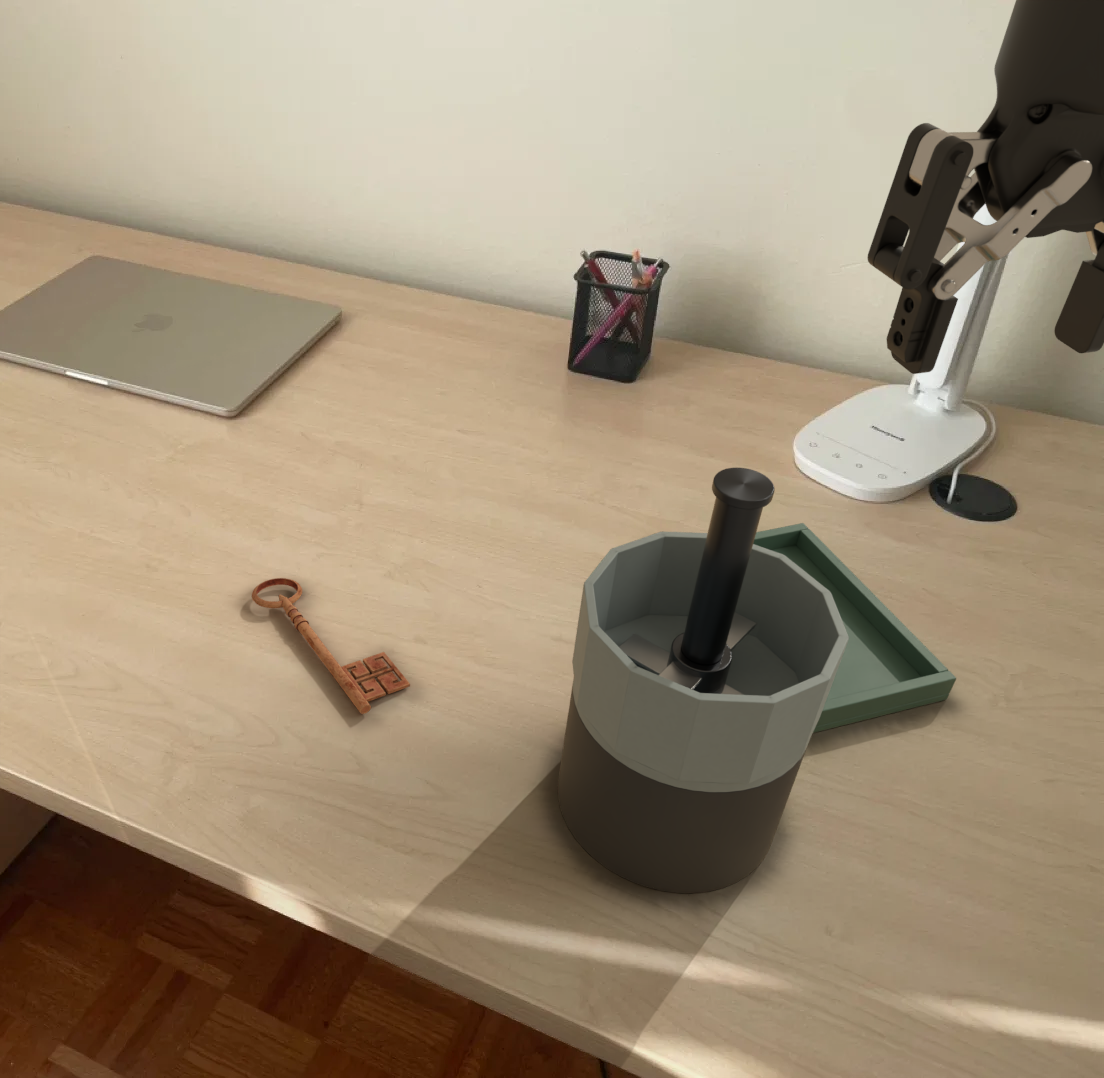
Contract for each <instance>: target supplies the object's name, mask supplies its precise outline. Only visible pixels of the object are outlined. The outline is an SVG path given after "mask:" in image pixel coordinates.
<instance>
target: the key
mask: <svg viewBox="0 0 1104 1078" xmlns="http://www.w3.org/2000/svg"><path fill="white" fill-rule="evenodd" d="M272 586H273V587H274V586H287V587H291V588H292V589H294V590H295V591H296V593H294V594H293V595H292V596H290V597H287V596H284V595H282V594H279V595H278V600H276V601H273V600H272V601H271V600H270V601H269V600H265V599H263V598H261V597H260V596H259V593H260V592H261V591H263V590H264V589H266V588H269V587H272ZM302 594H303V587H302V586H301V584H299V582H297V581H296V580H294V579H290V578H285V577H277V578H271V579H268V580H264V581H262V582H261V583H259V584H257V585H256V586H255V587H254V588H253V590H252V592H251V599H252V601H253V602H254V603H255V604H256V605H258V606H260V607H262V608H266V609H279V608H280V609H281V608H282V609H283V610H284V611H285V614H286V616H287V617H288V618H290V621H291V622H292V624H293V625H294V627H295V629H296V630H297V631H298V632H299V633H300V634H301V635H302V637H303V638H304V639H305V641H306V642H307V644H308V645H309V646H310V648H311V649H312V650H313V651H314V653H315V654H316V656H318V658H319V659H320V661H321V662H322V664H323V665H324V666H325V668H326V669H327V671H328V672H329V673H330V674H331V676H332V677H333V679H334V680H335V681H336V682H337V683H338V685H339V686H340V688H341V689H342V691H343V692H344V693H345V695H346V696H347V698H349V700H350V701H351V702H352V704H353V705H354V706H355V707H356V709H357V711H358V712H359V713H360V714H361V715H365V714H367V713H368V712H369V711H370V710H372V706H371V703H369V702H371V701H373V700H376V699H379V698H382V697H385V696H386V694H388V695H390V694H393V693H395V692H399V691H401V690H403V689H406V688H408V687H411V683H410V681H408V679H407V678H406V677H405V676H404V674H402V671H400V669H399V668H398V667H397V666H396V665H395V663H394V662H393V661H392V660H391V659H390V657H389V656H388V655H387V654H386V652H385V651H382V652H379V653H375V654H373V655H370V656H368V657H365V658H363V659H362V660H361V659H359V660H356V661H353V662H350V663H347V664H345V665H342V666H341V665H340V664H339V662H338V661H337V659H336V658H335V657H334V656H333V654H332V653H331V652H330V651H329V649H328V648H327V646H325V644H324V643H323V641H322V640H321V638H319V636H318V635H317V633H316V632H315V630H313V628H312V627H311V626H310V623H309V621H308V620H307V619H306V618H305V617H304V616H303V614H302V613H301V612H299V610H298V608H297V607H296V606H295V605H293V604H294V603H296V602H297V601H298V600H299V599H300V598H301V596H302ZM370 673H371V674H370ZM359 684H360V685H359Z"/></svg>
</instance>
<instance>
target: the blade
mask: <svg viewBox="0 0 1104 1078" xmlns="http://www.w3.org/2000/svg"><path fill="white" fill-rule="evenodd" d="M775 489H776V488H775V485H774V483H773V481H772V480H771V479H770V478H769V477H768V476H766V475H765V474H764V473H761V472H760V471H757V470H754V469H751V468H746V467H728V468H723V469H721V470H720V471H718V472H717V473H715V475H714V477H713V480H712V484H711V492H712V493H713V495H714V496H715V498H714V499H715V500H714V503H713V507H712V513H711V516H710V521H709V526H708V530H707V532H706V533H707V538H706V542H705V546H704V551H703V555H702V559H701V563H700V568H699V572H698V576H697V580H696V585H695V589H694V593H693V597H692V602H691V606H690V610H689V615H688V619H687V623H686V627H685V632H684V633H681V634H680V635H678V636H677V637H676V638H675V639H674V640H673V642H672V645H671V649H670V653H669V652H667V651H665V650H663V649H661V648H660V647H658V646H656V645H654V644H653V643H651V642H649V641H647V640H645V639H644V638H642V637H640V636H638V635H636V634H635V633H634V634H633V635H632V636H631V637H630V638H628V639H627V640H626V641H625V642H624V643H623V644H622V645H621V646H620V647H619V648H620V649H621V650H622V651H623V652H624V653H625V654H626V655H627V656H628V657H629V658H630V659H631V660H632V661H633V662H635V663H637V664H638V665H640V666H642V667H643V668H645V669H647V670H649V671H650V672H652V673H654V674H656V675H659V676H661V677H664V678H666V679H668V680H671V681H673V682H675V683H678V684H680V685H682V686H685V687H687V688H690V689H692V690H694V691H697V692H699V693H711V694H735V695H744V694H742V693H740V692H738V691H737V690H735V689H733V688H731V687H729V686H728V685H726V684H725V683H726V680H727V676H728V672H729V669H730V665H731V662H732V652H731V651H732V650H733V649H734V647H735V646H736V645H737V644H738V643H739V642H740V641H741V640H742V639H743V638H744V637H745V636H746V635H747V634H748V633H749V632H750V631H751V630H752V629H753V628H754V627H755V626H756V623H755V622H753V621H751V620H749V619H747V618H745V617H743V616H741V615H739V614H737V613H735V609H736V605H737V602H738V598H739V594H740V591H741V587H742V583H743V580H744V576H745V572H746V569H747V565H748V561H749V557H750V554H751V550H752V546H753V543H754V539H755V535H756V532H758V527H759V524H760V520H761V517H762V513H763V509H764V508H765V507H766V506H768V505H770V503H772V501H773V498H774V494H775Z"/></svg>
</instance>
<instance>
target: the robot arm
mask: <svg viewBox="0 0 1104 1078" xmlns="http://www.w3.org/2000/svg"><path fill="white" fill-rule="evenodd" d="M993 69H994V77H995V78H994V79H995V84H996V99H995V103H994V106H993V107H992V109H991V112H990V113H989V115H988V116H987V118H986V119H985V120H984V122H983V123H982V125H980V127H979V128H978V130H976V131H966V132H965V131H959V132H956V131H953V132H948V131H946V130H943V129H942V128H939V127H937V126H935V125H933V124H932V123H929V122H923V123H920V124H918V125H917V126H915V127H914V128H913V129H912V130H911V131H910V132H909V134H908V136H907V139H906V142H905V145H904V147H903V151H902V153H901V157H900V160H899V162H898V165H897V168H896V171H895V174H894V177H893V180H892V183H891V186H890V189H889V191H888V195H887V197H886V200H885V203H884V206H883V209H882V212H881V215H880V218H879V220H878V224H877V227H876V229H875V232H874V235H873V238H872V241H871V244H870V247H869V249H868V254H867V262H868V263H869V265H870V266H872V267H874V268H875V269H876V270H878V271H879V272H880V273H882V274H883V275H885V276H886V277H887V278H888V279H890V280H891V281H892V282H894V283H896V284H897V285H898V286H900V287H901V291H900V294H899V298H898V301H897V303H896V306H895V310H894V314H893V316H892V320H891V323H890V327H889V329H888V332H887V336H886V348H887V349H888V350H889V351H890V355H891V357H892V359H893V360H895V362H897V363H898V364H899V365H900V366H902V367H903V368H904V369H905V370H907V371H908V372H909V373H910V374H912V375H918V374H926V373H930V372H932V371H933V370H934V368H935V366H936V363H937V360H938V358H939V354H940V352H941V349H942V346H943V343H944V340H945V338H946V335H947V332H948V329H949V327H950V323H951V320H952V318H953V315H954V312H955V309H956V307H957V303H958V302H959V298H958V297H956V296H955V295H956V294H957V293H958V292H959V291H960V290H961V289H962V288H963V287H964V286H965V285H966V284H967V283H968V282H969V281H970V280H971V279H972V278H973V277H974V276H975V275H976V274H977V273H978V272H979V271H980V269H982V268H983V267H984V266H985V265H986V264H987V263H989V262H991V261H992V262H993V261H999V260H1001V259H1004V258H1005V257H1006V256H1008V254H1009V253H1010V252H1012V251H1013V250H1014V248H1016V247H1017V245H1019V244H1020V242H1021V241H1022V240H1024V239H1025V238H1026V239H1032V238H1041V237H1046V236H1049V235H1052V234H1054V233H1057V232H1061V231H1066V232H1067V231H1068V232H1072V233H1076V234H1078V233H1085V234H1086V235H1085V236H1086V238H1087V242H1088V244H1089V248H1090V251H1091V254H1093V255H1094V256H1095V258H1094V259H1086V260H1082V262H1081V264H1080V266H1079V268H1078V271H1077V273H1076V276H1075V279H1074V280H1073V283H1072V285H1071V288H1070V290H1069V292H1068V295H1067V297H1066V300H1065V302H1064V304H1063V307H1062V309H1061V312H1060V314H1059V316H1058V318H1057V321H1056V323H1055V326H1054V336H1055V338H1056V339H1057V340H1058V341H1059V342H1061V343H1062V344H1064V345H1065V346H1067V347H1068V348H1070V349H1072V350H1073V351H1075V352H1077V353H1079V354H1087V353H1096V352H1098V351H1100V350H1101V349H1102V348H1103V346H1104V0H1015V2H1014V4H1013V8H1012V11H1011V14H1010V18H1009V21H1008V24H1007V26H1006V30H1005V33H1004V37H1003V39H1002V42H1001V45H1000V48H999V51H998V55H997V57H996V61H995V64H994V68H993ZM972 171H974V173H973V174H972V175H971V173H972ZM970 175H971V176H970ZM984 206H986V210H987V212H988V214H989V215H990V217H991V218H992V219H993V220H995V222H993V223H992V224H983V223H981V222H980V221H978V220H976V219H975V218H974V217H975V215H976V214H977V213H978V212H979V211H980V210H981V209H982V208H983V207H984ZM961 243H963V245H961V246H960V248H959V249H957V251H956V252H955V253H954V254H953V255H952V256H951V257H950V258H949V259H948V260H947V261H946V262H945V263H943V262H942V260H943V259H944V258H945V257H946V256H947V255H948V254H949V253H950V252H951V250H953V249H954V247H956V246H957V245H958V244H961Z"/></svg>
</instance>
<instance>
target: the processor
mask: <svg viewBox="0 0 1104 1078" xmlns="http://www.w3.org/2000/svg"><path fill="white" fill-rule="evenodd" d="M707 533H708V532H693V531H691V532H690V531H689V532H688V531H658V532H656V533H652V534H650V535H647V536H643V537H640V538H639V539H638V538H637V539H635V540H632V541H630V542H626V543H624V544H620V545H618V546H615V547H611V548H610V549H609V550H608V552H607V553H606V554H605V555H604V557H603V558H602V560H601V561H600V562H599V563H598V564H597V566H596V567H594V569H593V571H592V572H591V573H590V574H589V576H588V577H587V578H586V579H585V581H584V582H583V585H582V594H581V600H580V607H579V614H578V618H577V619H578V620H577V628H576V634H575V640H574V648H573V654H572V661H571V662H572V673H573V679H572V685H571V691H570V699H569V705H568V712H567V719H566V725H565V733H564V739H563V745H562V752H561V759H560V766H559V772H558V777H557V798H558V799H557V800H558V804H559V805H558V806H559V808H560V811H561V815H562V818H563V820H564V822H565V824H566V826H567V828H568V829H569V831H570V833H571V834H572V836H573V837H574V838H575V840H576V841H577V843H578V844H579V845H580V846H581V847H582V848H583V850H584V851H585V852H586V853H587V854H588V855H590V857H592V858H593V859H594V860H595V861H596V862H597V863H599V864H600V865H602V866H603V867H604V868H606V869H607V870H609V871H610V872H612V873H613V874H615V875H617V876H619V877H621V878H623V879H625V880H627V881H630V882H632V883H634V884H637V885H640V886H643V887H645V888H649V889H652V890H657V891H661V892H666V893H667V892H668V893H676V894H700V893H707V892H713V891H716V890H720V889H724V888H727V887H729V886H731V885H734V884H736V883H738V882H739V881H741V880H743V879H745V878H746V877H748V876H749V875H750V874H751V873H753V872H754V870H756V869H757V868H758V867H759V866H760V865H761V863H762V862H763V861H764V860H765V858H766V857H767V854H768V853H769V851H770V849H771V847H772V843H773V842H774V838H775V836H776V832H777V830H778V827H779V825H780V822H781V819H782V817H783V814H784V811H785V808H786V806H787V803H788V800H789V797H790V795H791V792H792V789H793V786H794V784H795V781H796V778H797V776H798V773H799V771H800V768H801V765H802V762H803V759H804V756H805V754H806V751H807V748H808V745H809V743H810V740H811V739H812V735H813V734H814V733H813V731H814V729H815V727H816V725H817V722H818V720H819V718H820V715H821V713H822V710H823V707H824V705H825V702H826V699H827V697H828V694H829V691H830V688H831V686H832V683H833V680H834V678H835V675H836V672H837V670H838V667H839V664H840V661H841V659H842V656H843V653H844V651H845V648H846V645H847V642H848V640H849V637H848V634H847V632H846V629H845V627H844V624H843V622H842V619H841V617H840V614H839V612H838V609H837V607H836V604H835V602H834V599H833V597H832V594H831V592H830V591H829V590H827V589H826V588H825V587H824V586H823V585H821V584H820V583H819V582H818V581H816V580H815V579H814V578H813V577H811V576H810V575H809V574H808V573H806V572H805V571H804V570H803V569H801V568H800V567H799V566H798V565H796V564H795V563H794V562H793V561H791V560H790V559H789V558H788V557H786V556H785V555H783V554H780V553H777V552H774V551H772V550H769V549H766V548H763V547H760V546H757V545H754V544H753V546H752V550H751V554H750V557H749V561H748V565H747V569H746V572H745V576H744V580H743V583H742V587H741V591H740V594H739V598H738V602H737V605H736V609H735V613H737V614H739V615H741V616H743V617H745V618H747V619H749V620H751V621H753V622H755V623H756V626H755V627H754V628H753V629H752V630H751V631H750V632H749V633H748V634H747V635H746V636H745V637H744V638H743V639H742V640H741V641H740V642H739V643H738V644H737V645H736V646H735V647H734V649H733V650H732V651H731V652H732V662H731V665H730V669H729V672H728V676H727V680H726V683H725V684H726V685H728V686H729V687H731V688H733V689H735V690H737V691H738V692H740V693H742V694H744V695H735V694H711V693H699V692H697V691H694V690H692V689H690V688H687V687H685V686H682V685H680V684H678V683H675V682H673V681H671V680H668V679H666V678H664V677H661V676H659V675H656V674H654V673H652V672H650V671H649V670H647V669H645V668H643V667H642V666H640V665H638V664H637V663H635V662H633V661H632V660H631V659H630V658H629V657H628V656H627V655H626V654H625V653H624V652H623V651H622V650H621V649H620V648H619V647H620V646H621V645H622V644H623V643H624V642H625V641H626V640H627V639H628V638H630V637H631V636H632V635H633V634H634V633H635V634H636V635H638V636H640V637H642V638H644V639H645V640H647V641H649V642H651V643H653V644H654V645H656V646H658V647H660V648H661V649H663V650H665V651H667V652H669V653H670V649H671V645H672V642H673V640H674V639H675V638H676V637H677V636H678V635H680V634H681V633H684V632H685V627H686V623H687V619H688V615H689V610H690V606H691V602H692V597H693V593H694V589H695V585H696V580H697V576H698V572H699V568H700V563H701V559H702V555H703V551H704V546H705V542H706V538H707Z"/></svg>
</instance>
